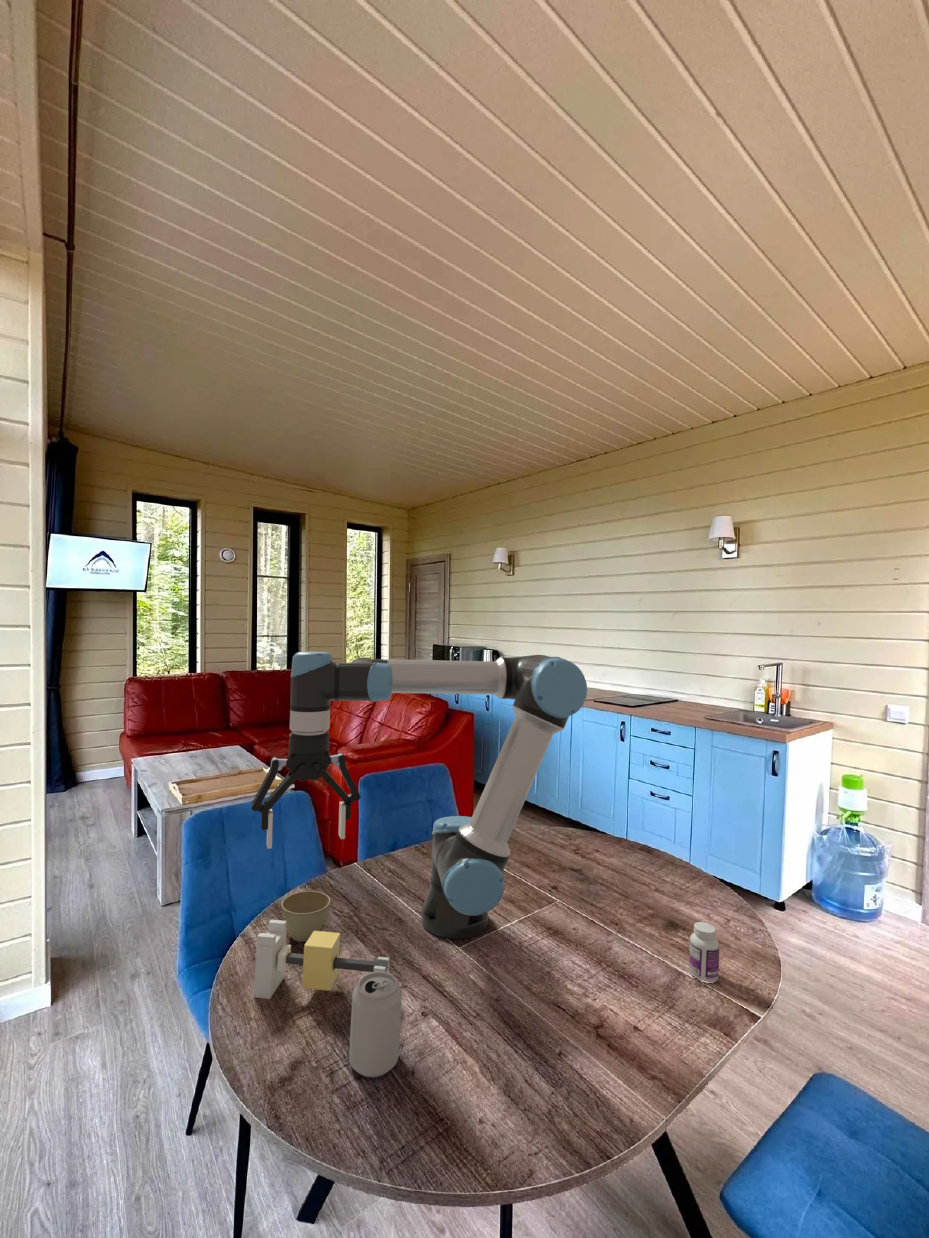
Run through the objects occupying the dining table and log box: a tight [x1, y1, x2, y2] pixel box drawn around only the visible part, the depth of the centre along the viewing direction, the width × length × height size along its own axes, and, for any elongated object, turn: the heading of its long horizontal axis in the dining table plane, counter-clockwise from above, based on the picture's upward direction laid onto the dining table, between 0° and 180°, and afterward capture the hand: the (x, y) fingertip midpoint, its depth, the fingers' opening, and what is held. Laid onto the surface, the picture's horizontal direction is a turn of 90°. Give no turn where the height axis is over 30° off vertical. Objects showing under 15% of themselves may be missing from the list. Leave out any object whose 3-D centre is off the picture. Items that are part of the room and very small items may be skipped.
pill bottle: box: [688, 921, 720, 982], centre depth 108 cm, size 5×5×10 cm
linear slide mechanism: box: [253, 919, 390, 1000], centre depth 98 cm, size 23×6×11 cm, turn 85°
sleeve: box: [301, 930, 341, 992], centre depth 99 cm, size 5×5×7 cm
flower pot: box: [281, 890, 331, 943], centre depth 116 cm, size 10×10×7 cm
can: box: [348, 971, 403, 1078], centre depth 83 cm, size 8×8×12 cm
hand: (306, 841), depth 106 cm, fingers open, 13 cm apart
